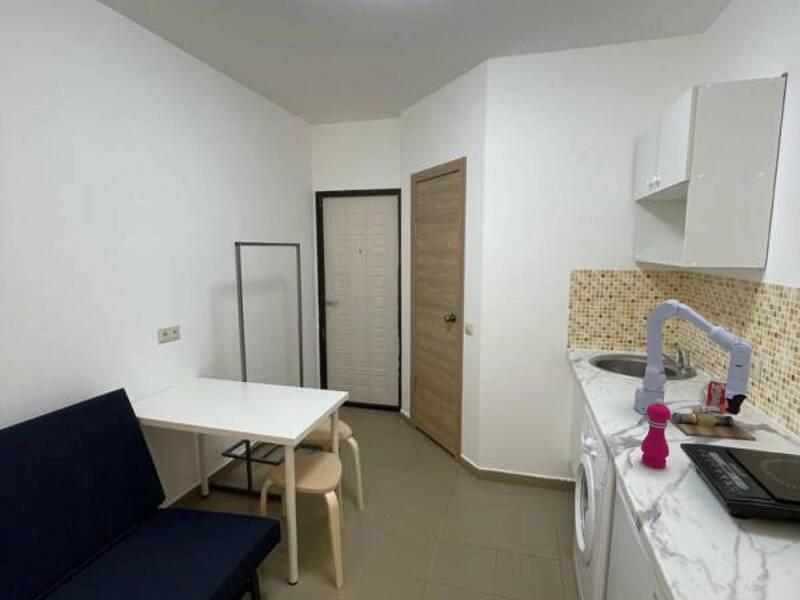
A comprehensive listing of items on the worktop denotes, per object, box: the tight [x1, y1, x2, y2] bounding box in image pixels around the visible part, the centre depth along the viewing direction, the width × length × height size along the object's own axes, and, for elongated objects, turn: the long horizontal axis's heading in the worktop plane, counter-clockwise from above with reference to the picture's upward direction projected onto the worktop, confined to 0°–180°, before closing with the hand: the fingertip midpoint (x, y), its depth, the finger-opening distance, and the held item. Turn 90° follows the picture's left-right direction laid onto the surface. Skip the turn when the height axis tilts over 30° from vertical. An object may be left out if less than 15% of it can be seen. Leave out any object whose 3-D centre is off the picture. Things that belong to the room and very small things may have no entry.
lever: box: [698, 405, 742, 414], centre depth 154 cm, size 13×3×2 cm, turn 85°
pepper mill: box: [640, 399, 671, 470], centre depth 128 cm, size 7×7×20 cm
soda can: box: [705, 377, 728, 413], centre depth 170 cm, size 7×7×12 cm
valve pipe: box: [672, 408, 735, 427], centre depth 154 cm, size 18×5×5 cm, turn 81°
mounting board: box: [668, 414, 756, 441], centre depth 154 cm, size 21×16×1 cm
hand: (733, 414), depth 151 cm, fingers closed
